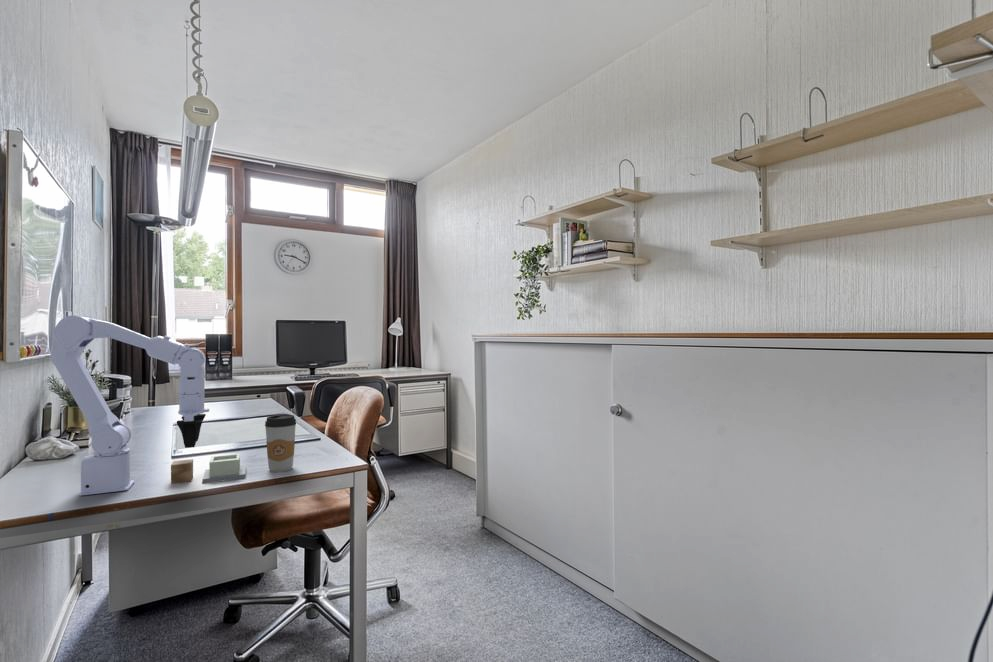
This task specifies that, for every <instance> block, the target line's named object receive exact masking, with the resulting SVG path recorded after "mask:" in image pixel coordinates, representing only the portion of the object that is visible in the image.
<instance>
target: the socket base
mask: <svg viewBox="0 0 993 662" xmlns="http://www.w3.org/2000/svg"><path fill="white" fill-rule="evenodd" d="M208 468H209V469H205V471H204V473H203V476H202V480H201V481H202V484H206V483H205V482H207V483H215V482H222V480H224V481H231V479H232V480H239V478H240V479H246V475H247V473H246V472H247V465H241V453H233V454H224V455H216V456H215V455H214V456H211V457H210V460H209V467H208ZM214 481H215V482H214Z"/></svg>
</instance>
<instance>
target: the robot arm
mask: <svg viewBox="0 0 993 662" xmlns="http://www.w3.org/2000/svg"><path fill="white" fill-rule="evenodd" d="M51 333H52V337H53V338H52V343H51V351H50V359H51V362H52V363H53V365H54V367H55V368H56V370H57V371H58V373H59V375H60V377H61V378H62V381H63V382H64V384H65V385H66V387H67V389H68V391H69V393H70V394H71V396H72V398H73V399H74V401H75V403H76V405H77V406H78V408H79V409H80V412H81V413H82V415H83V417H84V418H85V421H86V422H87V424H88V425H87V427H88V428H87V429H88V433H89V435H90V438H91V442H90V443H91V448H92V449H93V451H94V452H93V454H91V455H84V457H83V458H82V460H81V464H80V465H81V466H80V493H79V496H89V495H90V496H91V495H97V494H104V493H106V494H107V493H113V492H122V491H123V492H124V491H129V489H130V488H131V487H132V486H133V484H134V483H135V480H134V479H131V452H130V451H131V449H130V448H129V446H128V445H127V444H128V443H129V442H130V440H131V438H132V432H131V429H130V428H129V427H128V426H127V425H125V424H124V423H122V421H120V419H119V418H118V417H117V415H115V414H114V412H112V411H111V409H110V407H109V405H108V404H107V402H106V400H105V398H104V397H103V394H102V392H100V389H99V387H98V386H97V384H96V382H95V381H94V379H93V377H92V376H91V374H90V372H89V370H88V369H87V366H86V365H85V364H84V361H83V360H82V358H81V356H82V354H83V353H84V351H85V349H86V348H87V346H88V345H89V344H90V343H91V342H93V341H94V340H95V339H104V338H105V339H106V338H107V339H108V338H110V339H113V340H116V341H119V342H122V343H124V344H129V345H131V346H134V347H138V348H141V349H144V350H145V351H146V354H147V355H148V357H151V358H153V359H156V360H159V361H162V362H165V363H168V364H171V365H173V366H175V365H178V366H179V368H180V376H179V393H178V394H179V398H178V399H179V402H178V404H179V405H178V406H179V407H178V411H177V413H178V415H180V416H181V420H177V421H176V425H177V427H178V428H179V430H180V432H181V433H180V434H181V437H182V440H183V441H182V442H183V445H184V448H186V449H188V448H195V446H196V443H197V442H198V440H199V437H200V433H201V427H202V424H203V422H204V419H205V417H206V416H207V415H206V413H209V412H210V408H205V380H206V377H205V367H204V364H205V363H206V356H205V355H206V354H205V353H204V351H202V350H201V349H199V348H198V347H190V344H189V343H185V344H183V343H180V342H178V341H175V340H173V339H171V336H168V335H164V336H161V335H157V336H154V337H149V336H146V335H145V334H141V333H139V332H136V331H134V330H131V329H129V328H127V327H124V326H121V325H119V324H116V323H114V322H109V321H105V320H101V319H98V318H97V319H96V318H93V317H90V316H87V315H86V316H83V315H82V316H80V315H67V316H65V317H63V318H61V319H60V320H59V321H58V322H57V324H56V326H55V327H54V329H53V330H52V331H51Z"/></svg>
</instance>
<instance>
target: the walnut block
mask: <svg viewBox="0 0 993 662" xmlns="http://www.w3.org/2000/svg"><path fill="white" fill-rule="evenodd" d="M193 478H194V459H193V458H192V459H191V458H190V459H181V460H173V461H172V463H171V464H170V484H171V485H174V484H175V485H177V484H184V483H185V482H186V483H192V481H193Z"/></svg>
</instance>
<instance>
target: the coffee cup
mask: <svg viewBox="0 0 993 662" xmlns="http://www.w3.org/2000/svg"><path fill="white" fill-rule="evenodd" d="M264 422H265V424H264V426H265V436H266V437H265V438H266V454H267V455H266V456H267V464H268V469H269V471H270V472H272V473H281V472H287V471H291V470H292V468H293V467H294V456H295V447H296V446H295V444H296V438H295V437H296V425H297V420H296V418H295V415H293V414H275V415H269V416H267V417H266V420H265V421H264Z"/></svg>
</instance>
